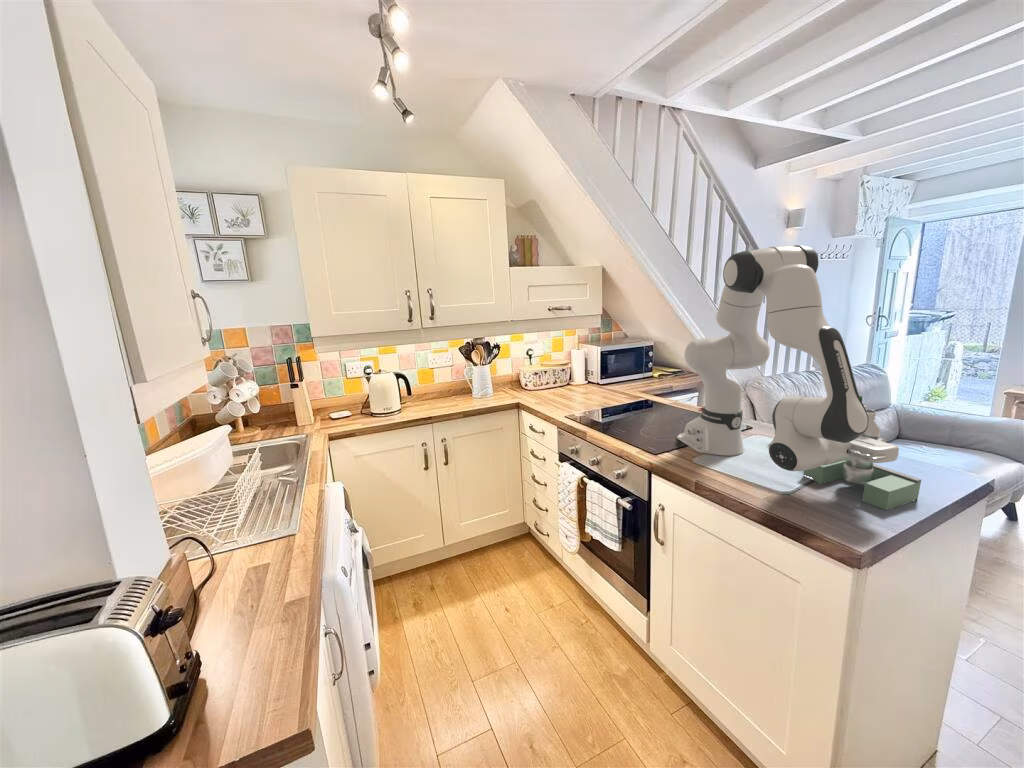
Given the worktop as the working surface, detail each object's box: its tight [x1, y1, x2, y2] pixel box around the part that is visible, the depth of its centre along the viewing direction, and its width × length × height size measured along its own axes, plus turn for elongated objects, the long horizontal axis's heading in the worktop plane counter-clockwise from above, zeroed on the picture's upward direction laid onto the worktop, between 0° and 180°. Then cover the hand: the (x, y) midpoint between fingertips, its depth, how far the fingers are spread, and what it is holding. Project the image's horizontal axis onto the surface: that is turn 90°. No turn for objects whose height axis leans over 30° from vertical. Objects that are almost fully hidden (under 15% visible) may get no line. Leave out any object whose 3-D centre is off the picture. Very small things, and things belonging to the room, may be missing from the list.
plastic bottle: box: [842, 408, 881, 486], centre depth 103 cm, size 6×7×20 cm
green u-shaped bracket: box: [803, 460, 922, 511], centre depth 105 cm, size 20×12×6 cm, turn 18°
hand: (864, 436), depth 103 cm, fingers closed on plastic bottle, 6 cm apart
